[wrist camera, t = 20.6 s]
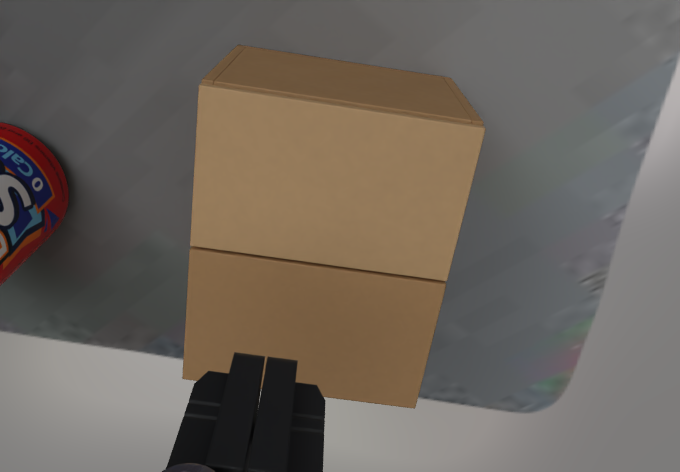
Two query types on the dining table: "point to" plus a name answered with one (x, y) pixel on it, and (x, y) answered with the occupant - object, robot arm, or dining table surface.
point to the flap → (330, 182)
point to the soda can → (27, 197)
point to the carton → (313, 278)
